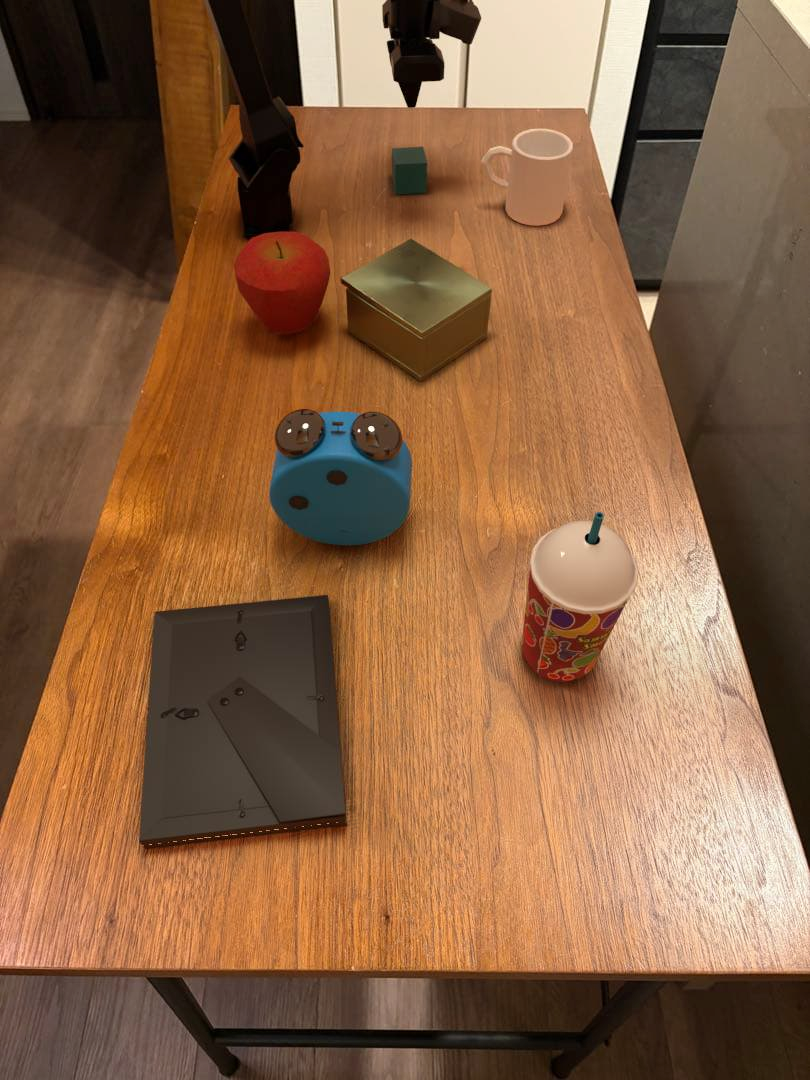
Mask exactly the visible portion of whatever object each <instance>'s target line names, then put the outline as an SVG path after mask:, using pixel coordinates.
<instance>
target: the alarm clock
mask: <svg viewBox="0 0 810 1080" xmlns="http://www.w3.org/2000/svg"><path fill="white" fill-rule="evenodd" d="M274 444H275V447H276V453H275V458H274V463H273V468H272V474H271V475H272V476H271V479H270V484H269V490H268V491H269V493H268V494H269V501H270V502H269V503H270V506H271V508H272V510H273V512H274V513H275V515H276V516H277V517H278V520H280V521H281V523H283V525H285V526H286V527H287V528H289V529H290V530H292V531H293V532H295V533H296V534H298V535H300V536H302V537H305V538H307V539H309V540H311V541H316V542H318V543H321V544H327V545H333V546H360V545H366V544H370V543H375V542H378V541H380V540H382V539H385V538H387V537H388V536H390V535H392V534H394V533H395V532H396V531H397V530H399V528H400V527H402V525H403V524H404V522H405V521H406V519H407V517H408V514H409V512H410V507H411V493H412V491H411V490H412V473H413V460H412V455H411V452H410V449H409V447H408V445H407V443H406V442H405V440H404V439H403V434H402V430H401V428H400V427H399V425H398V424H397V422H396V421H395V420H394V419H393V418H392V417H390V416H389V415H387V414H385V413H382V412H380V411H367V412H363V413H357V412H352V411H339V410H338V411H337V410H336V411H324V412H319V413H318V412H317V411H315V410H313V409H311V408H310V409H308V408H301V409H300V408H299V409H295V410H293V411H291V412H289V413H288V414H287V415H285V416H284V417H283V418H282V419H281V420H280V421H279V423H278V425H277V426H276V429H275V433H274Z"/></svg>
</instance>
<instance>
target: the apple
mask: <svg viewBox="0 0 810 1080" xmlns="http://www.w3.org/2000/svg"><path fill="white" fill-rule="evenodd" d="M233 269H234V274H235V275H234V276H235V280H236V284H237V289H238V292H239V293H240V294H241V296H242V298H243V299H244V301H245V302H246V303H247V305H248V306H249V308H250V310H251V311H252V312H253V314H254V316H256V318H257V319H258V321H259V322H260V323H261V324H262V326H263V327H264V328H266V330H268V331H269V332H271V333H276V334H281V335H285V336H286V335H293V334H296V333H299V332H301V331H304V330H305V329H308V328H309V327H310V326H311V325H312V324H313V323H314V322H315V320H316V318H317V315H318V314H319V311H320V309H321V307H322V304H323V302H324V298H325V295H326V292H327V289H328V286H329V282H330V277H331V267H330V259H329V257H328V255H327V252H326V251H325V249H324V248H323V247H322V246H321V245H319V244H318V243H317V242H315V241H314V240H313V239H312V238H310V237H309V236H308V235H306V234H304V233H301V232H296V231H291V232H272V233H264V234H261V235H259V236H256V237H251V238H250V239H249V240H248V242H246V244H245V245H243V247H242V249H241V250H240V251H239V252H238V254H237V255H236V258H235V261H234V262H233Z"/></svg>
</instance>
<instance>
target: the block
mask: <svg viewBox="0 0 810 1080" xmlns="http://www.w3.org/2000/svg"><path fill="white" fill-rule="evenodd" d="M391 180H392V185H393V191H394V195H412V194H415V195H416V194H426V193H427V190H428V187H427V185H428V161H427V157H426V153H425V148H424V146H409V147H407V146H406V147H391Z"/></svg>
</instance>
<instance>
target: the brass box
mask: <svg viewBox="0 0 810 1080" xmlns="http://www.w3.org/2000/svg"><path fill="white" fill-rule="evenodd" d="M345 296H346V314H347V332H348V333H349V334H350V335H352V336H353V337H355V338H356V339H357V340H359V341H360V342H362V343H363V344H364V345H366V346H368V347H369V348H370V349H372V350H374V351H375V352H377V353H378V354H379V355H381V356H382V357H384V358H385V359H387V360H388V361H389V362H391V363H393V364H394V365H395V366H397V367H399V368H400V369H402V371H404V372H406V373H407V374H408V375H410V376H412V377H413V378H414V379H416V380H417V381H418V382H423V381H424V380H425V379H427V378H429V377H430V376H432V375H433V374H435V373H436V372H437V371H439V370H441V369H442V368H443V367H445V366H446V365H448V364H450V363H451V362H452V361H454V360H455V359H457V358H459V357H460V356H461V355H463V354H464V353H466V352H467V351H469V350H470V349H471V348H473V347H475V346H477V345H478V344H479V343H481V342H482V341H484V340H485V339H487V338H488V334H489V333H488V331H489V324H490V323H489V321H490V311H491V302H492V293H491V294H490V295H488V296H487V297H485V298H484V299H482V300H481V301H479V302H478V303H476V304H474V305H473V306H471V307H470V308H468V309H467V310H465V311H464V312H462V313H460V314H459V315H457V316H456V317H454V318H453V319H451V320H449V321H448V322H446V323H445V324H443V325H442V326H440V327H439V328H437V329H435V330H434V331H432V332H431V333H429V334H428V335H426V336H425V337H423V338H421V337H420V336H418V335H417V334H415V333H414V332H412V331H411V330H409V329H408V328H406V327H405V326H403V325H402V324H400V323H399V322H397V321H396V320H395V319H393V318H392V317H390V316H389V315H387V314H386V313H384V312H383V311H381V310H380V309H378V308H377V307H375V306H374V305H372V304H371V303H369V302H368V301H366V300H365V299H364V298H362V297H361V296H359V295H358V294H356V293H355V292H353V291H352V290H350V289H349V288H347V287H346V289H345Z"/></svg>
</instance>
